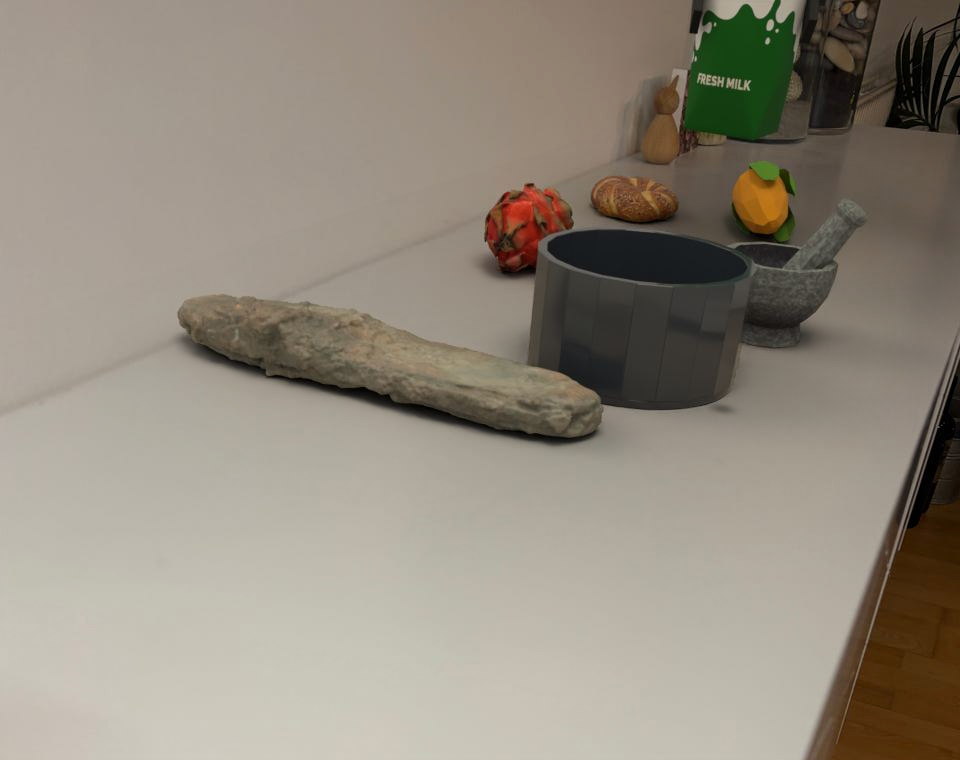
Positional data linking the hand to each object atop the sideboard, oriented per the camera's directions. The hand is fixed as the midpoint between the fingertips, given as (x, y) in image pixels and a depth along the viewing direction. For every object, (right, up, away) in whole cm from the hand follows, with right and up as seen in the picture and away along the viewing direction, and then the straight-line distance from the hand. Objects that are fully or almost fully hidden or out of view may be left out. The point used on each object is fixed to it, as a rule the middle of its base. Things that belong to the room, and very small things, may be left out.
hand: (752, 26), depth 95 cm
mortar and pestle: (+2, -27, +1) cm, 27 cm away
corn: (+9, -6, +33) cm, 35 cm away
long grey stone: (-32, -35, -15) cm, 49 cm away
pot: (-12, -32, -9) cm, 36 cm away
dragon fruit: (-20, -17, +14) cm, 29 cm away
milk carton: (0, -6, +8) cm, 10 cm away
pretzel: (-5, -1, +38) cm, 39 cm away
